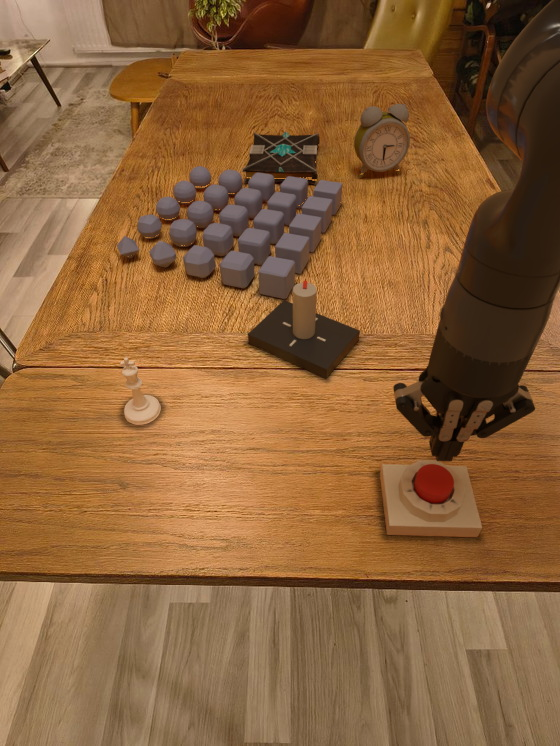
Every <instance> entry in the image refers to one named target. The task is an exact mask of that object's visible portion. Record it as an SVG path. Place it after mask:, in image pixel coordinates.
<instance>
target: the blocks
mask: <svg viewBox="0 0 560 746" xmlns="http://www.w3.org/2000/svg"><path fill="white" fill-rule="evenodd" d="M188 178H189V181H188V180H180V181H178V182H176V184H175V185H174V187H173V189H172V190H173V192H172V194H173V197H171V196H169V195H167V196H164V197H161V198H160V199H159V200H157V202H156V204H155V206H156V207H155V212H156V214H157V216H156V215H155V214H154V213H152V214H151V213H150V214H145V215H142V216H140V217H139V218H138V221H137V227H136V229H137V232H138V233H139V235H140V234H141V235H143V236H145V237H155V236H156V235H158V234H159V235H158V236H156V237H155V238H158V237H160V235H161V232H162V226H163V223H162V222H161V220H163V221H165V222H172V221H173V222H172V223H171V224H170V227H169V239H170V241H171V243H172V244H174V245H176V246H177V247H181V248H185V247H190V246H191V248H190V249H189V250H188V251H187V252H186V253H185V254H184V255H183V256H182V261H183V266H184V271H186V274H187V275H189V276H192V277H195V278H201V279H206V278H207V277H208V276H209V275H211V274H212V272H213V271H214V270H215V269H216V258H215V256H218V257H223V259H222V260H221V262H219V271H220V280H221V282H222V284H223V285H224V286H229V287H233V288H238V289H243V290H244V289H245V288H246V287H248V286H249V284H250V283H251V282H252V280H253V279H254V277H255V276H256V272H255V265H259V266H260V268H259V269H258V273H257V275H258V289H259V294H260V295H263V296H267V297H273V298H277V299H281V300H282V299H283V300H287V298H288V297H289V295H290V293H291V292H292V291H293V287H294V286H295V285H296V274H299V275H301V274H302V272H303V271H304V269H305V268H306V266H307V264H308V262H309V260H310V253H314V252H315V250H316V248H317V247H318V246H319V243H320V241H321V240H322V238H321V237H322V234H325V233H326V231H327V230H328V228H329V226H330V225H331V223H332V219H333V218H332V216H336V215H337V213H338V210H339V209H340V207H341V205H342V197H343V183H342V182H338V181H330V180H324V179H319V181H318V182H317V185H315V187H314V188H313V190H312V195H308V194H309V193H308V192H309V183H308V180H307V179H305V178H298V177H291V176H288V177H286V179H285V180H284V181H283V182H281V183H280V185H279V191H276V183H275V180H274V177H273V176H272V175H271V174H265V173H255V174H254V175H253V176H252V177H251V179H250V180H249V182H247V185H248V187H243V177H242V174H241V173H240V172H239V171H238V170H236V169H235V170H234V169H225V170H223V171H222V172H221V173H220V175H219V176H218V184H211V183H210V182H212V175H211V172H210V170H209V168H206V166H202V165H198V166H195V167H193V168H192V169H191V170H190V172H189V177H188ZM208 184H210V185H209V186H207V187H205V188H195V186H201V187H202V186H206V185H208ZM197 190H204V192H203V200H196V197H197ZM237 192H238V193H237ZM228 193H235V194H228ZM229 196H234V200H233V201H234V204H232V203H231V204H229V199H230V197H229ZM307 196H308V197H307ZM305 199H306V200H305ZM192 200H194V201H192ZM178 201H180V202H190V201H192V202H190V203H180V202H178ZM303 202H304V203H303ZM340 202H341V203H340ZM263 203H266V206H267V207H266V208H263ZM302 203H303V204H302ZM180 204H181V205H186V206H187V205H189V206H188V207H187V209H186V210H187V211H186V217H187V218H181V219H177V218H178V217H179V215H180V213H181V205H180ZM301 204H302V205H301ZM298 205H300V206H298ZM338 205H339V206H338ZM337 207H338V208H337ZM215 209H217V210H215ZM219 209H220V210H219ZM297 209H298V210H299V209H300V210H301V213H297ZM215 212H219V215H218V219H219V220H218V221H219V222H214V221H213V220H214V217H215V215H214V213H215ZM158 215H159V216H158ZM177 216H178V217H177ZM160 217H161V218H160ZM175 217H176V218H175ZM162 218H164V219H172V218H175V219H172V220H164V219H162ZM160 219H161V220H160ZM250 219H253V220H252V225H253V227H249V225H250V221H249V220H250ZM197 226H198V227H197ZM285 226H286V227H287V226H288V232H285ZM197 229H204V230H203V233H202V244H203V246H202V245H197V244H195V245H193V244H194V243H195V242H196V239H197V236H198V235H197V233H198V231H197ZM160 231H161V232H160ZM141 235H140V236H141ZM143 236H142V237H143ZM145 237H143V238H144V239H146V240H150V239H151V238H145ZM234 237H238V239H237V249H238V251H236V250H232V249H233V246H234ZM191 243H192V244H191ZM181 245H183V246H181ZM184 245H185V246H184ZM192 245H193V246H192ZM271 245H275V246H274V256H271V255H270V254H271V251H272V249H271ZM116 248H117V250H118V252H119V254H120V255H121V256H123V257H125V258H126V259H127V258H128V259H130V260H132V259H133V257H134V256H135V255H136V254H137V253H138V252H139V251H140V248H139V246H138V243H137V242H136V240H134V239H132V238H130V237H128V236H126V235H124V236H123V237H122V238H121V239H120V240H119V242H118V243H117V244H116ZM148 253H149V257H150V258H151V261H152V262H153V265H156V266H158V267H160V268H163V269H167V268H168V267H169V266H171V265H172V263H174V262H175V260H176V259H177V253H176V251H175V249H174V248H173V246H172V245H171V244H169V243H167V242H165V241H162V240H158V241H157V242H156V244H154V246H152V248H151V249H150V250H149V251H148ZM131 255H133V256H131ZM127 256H129V257H127Z"/></svg>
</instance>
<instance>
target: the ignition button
mask: <svg viewBox="0 0 560 746" xmlns="http://www.w3.org/2000/svg"><path fill="white" fill-rule="evenodd" d="M453 486H454V479H453V477H452V475H451V473H450V472H449V471H448V470H447V469H446V468H444V467H442V466H440V465H436V464H427V465H424V466H422V467H421V468H420V469H419V470H418V472H417V475H416V478H415V481H414V488H415V491H416V493H417V494H418V496H419V497H420V498H421V499H423V500H425V501H427V502H429V503H435V504H436V503H442V502H444V501H446V500H447V499H448V498H449V496H450V494H451V491H452V489H453Z"/></svg>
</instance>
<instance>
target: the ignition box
mask: <svg viewBox="0 0 560 746" xmlns="http://www.w3.org/2000/svg"><path fill="white" fill-rule="evenodd" d="M427 464H436V465H440V466H442V467H444V468H446V469H447V470H448V471H449V472H450V473H451V475H452V477H453V479H454V486H453V489H452V491H451V494H450V496H449V498H448V499H447V500H446V501H444V502H442V503H436V504H435V503H429V502H427V501H425V500H423V499H421V498H420V497H419V496H418V494H417V493H416V491H415V488H414V481H415V478H416V475H417V472H418V470H419V469H420V468H421V467H422V466H424V465H427ZM379 479H380V487H381V488H380V489H381V496H382V497H381V498H382V504H383V513H384V522H385V528H386V529H385V531H386V535H387V536H414V537H415V536H418V537H455V538H456V537H457V538H458V537H459V538H478V537H479V535H480V533H481V531H482V530H483V525H482V521H481V517H480V513H479V509H478V505H477V502H476V497H475V494H474V490H473V486H472V481H471V478H470V474H469V470H468V467H467V465H447V464H445V463H443V462H442V461H436V459H435V460H434V459H419V460H416V461H414V462H413V463H411V464H400V463H399V464H398V463H397V464H395V463H394V464H393V463H382V464H381V467H380V472H379Z"/></svg>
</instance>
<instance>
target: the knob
mask: <svg viewBox="0 0 560 746" xmlns="http://www.w3.org/2000/svg"><path fill="white" fill-rule="evenodd" d="M317 295H318V289H317V286H316V285H315V284H314V283H311V282H308V280H302V282H299V283H295V285H294V286H293V288H292V303H293V334H294V336H296V337H297V338H299V339H309V338H311V337H312V336H314V334H315V321H316V313H317Z"/></svg>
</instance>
